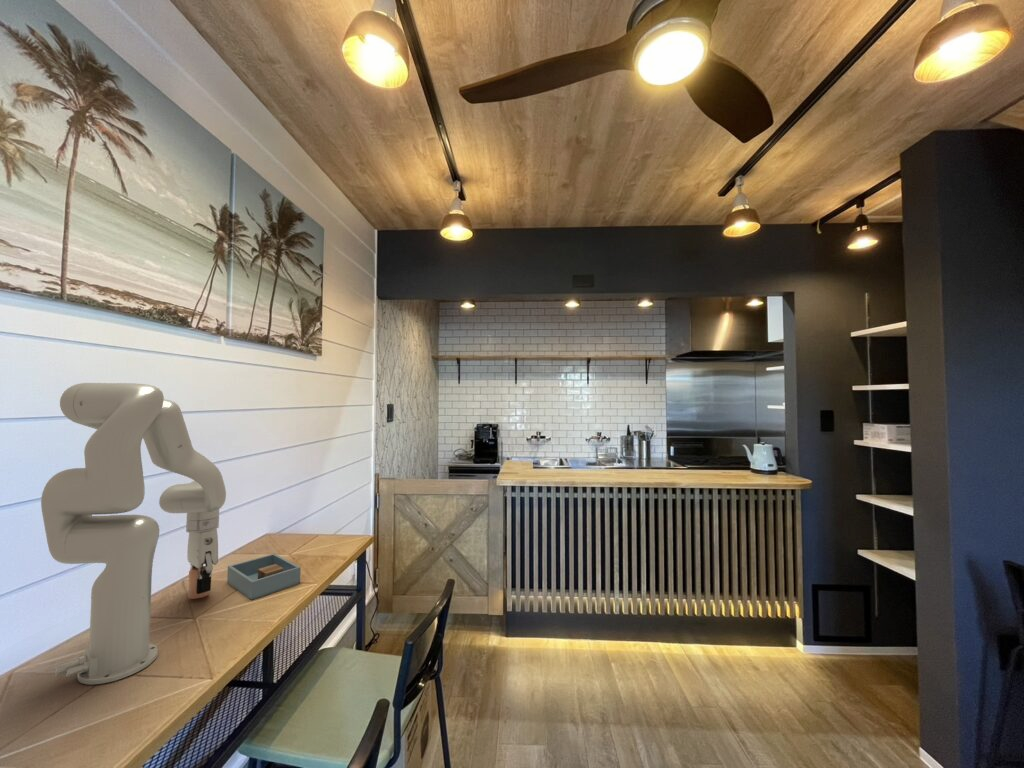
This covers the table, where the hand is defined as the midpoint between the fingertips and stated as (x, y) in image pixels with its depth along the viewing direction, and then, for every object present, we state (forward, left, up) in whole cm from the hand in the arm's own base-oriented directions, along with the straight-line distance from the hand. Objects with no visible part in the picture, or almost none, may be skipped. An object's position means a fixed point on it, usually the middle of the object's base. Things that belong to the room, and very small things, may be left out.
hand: (200, 588), depth 120 cm
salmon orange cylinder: (0, 0, -2) cm, 2 cm away
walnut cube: (+15, -8, -2) cm, 18 cm away
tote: (+15, -4, -3) cm, 16 cm away
